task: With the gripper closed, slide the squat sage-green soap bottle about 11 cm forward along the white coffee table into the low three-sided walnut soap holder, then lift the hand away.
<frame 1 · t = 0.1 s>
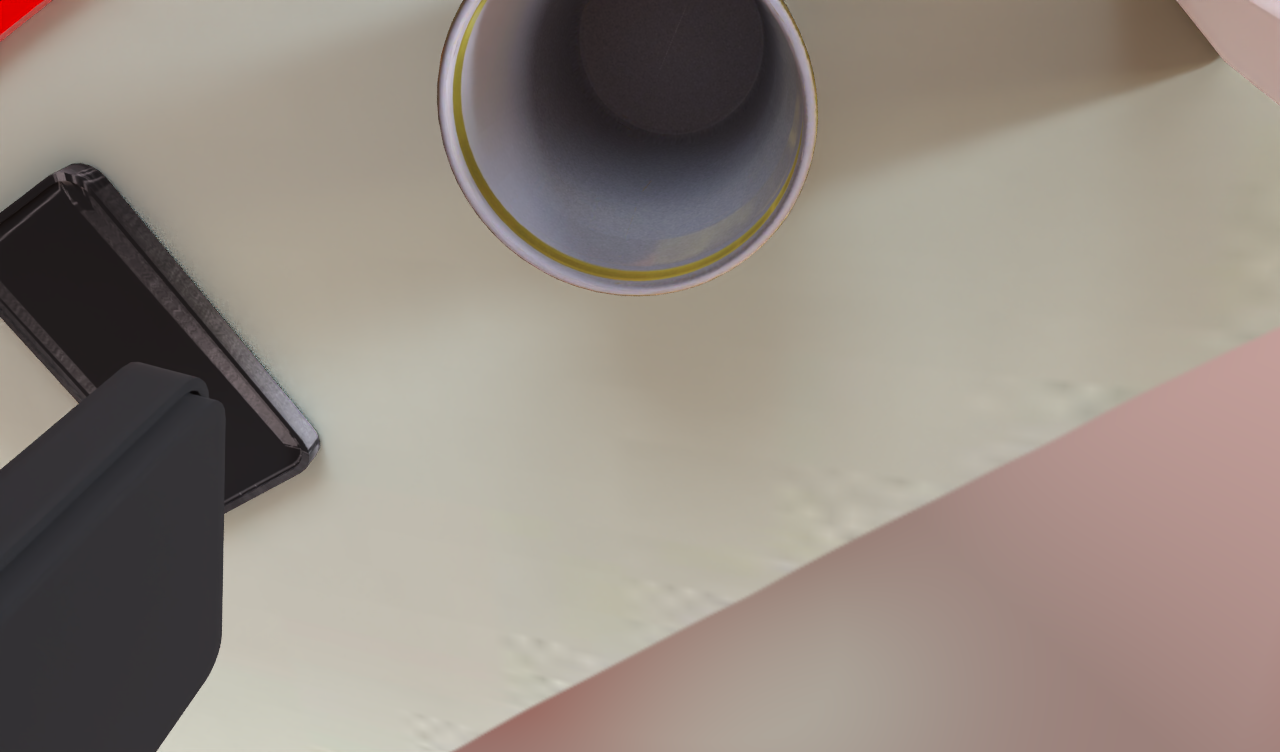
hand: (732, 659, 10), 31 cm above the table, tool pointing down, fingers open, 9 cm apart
phone: (152, 347, 47), on the table
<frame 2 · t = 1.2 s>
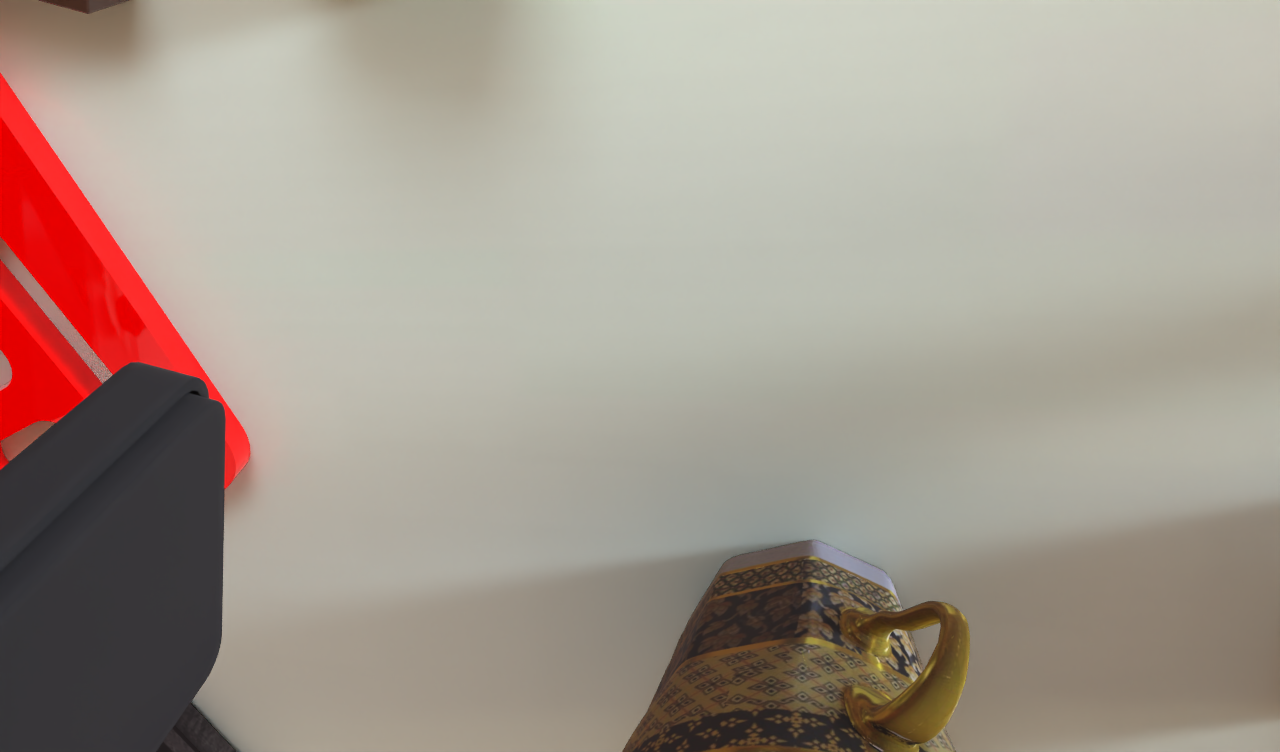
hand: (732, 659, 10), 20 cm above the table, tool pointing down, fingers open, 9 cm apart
ceramic cup: (823, 589, 35), on the table
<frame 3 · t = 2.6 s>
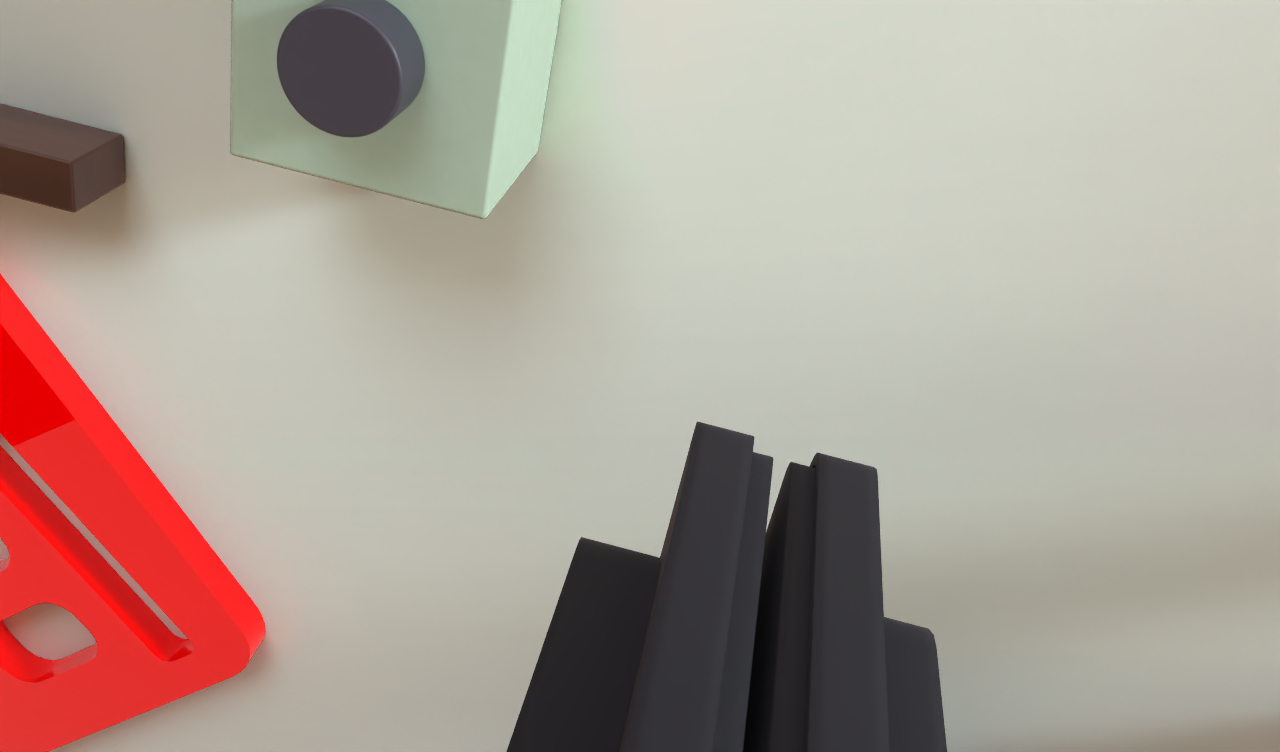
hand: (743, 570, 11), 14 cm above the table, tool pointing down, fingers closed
soap bottle: (439, 8, 23), on the table
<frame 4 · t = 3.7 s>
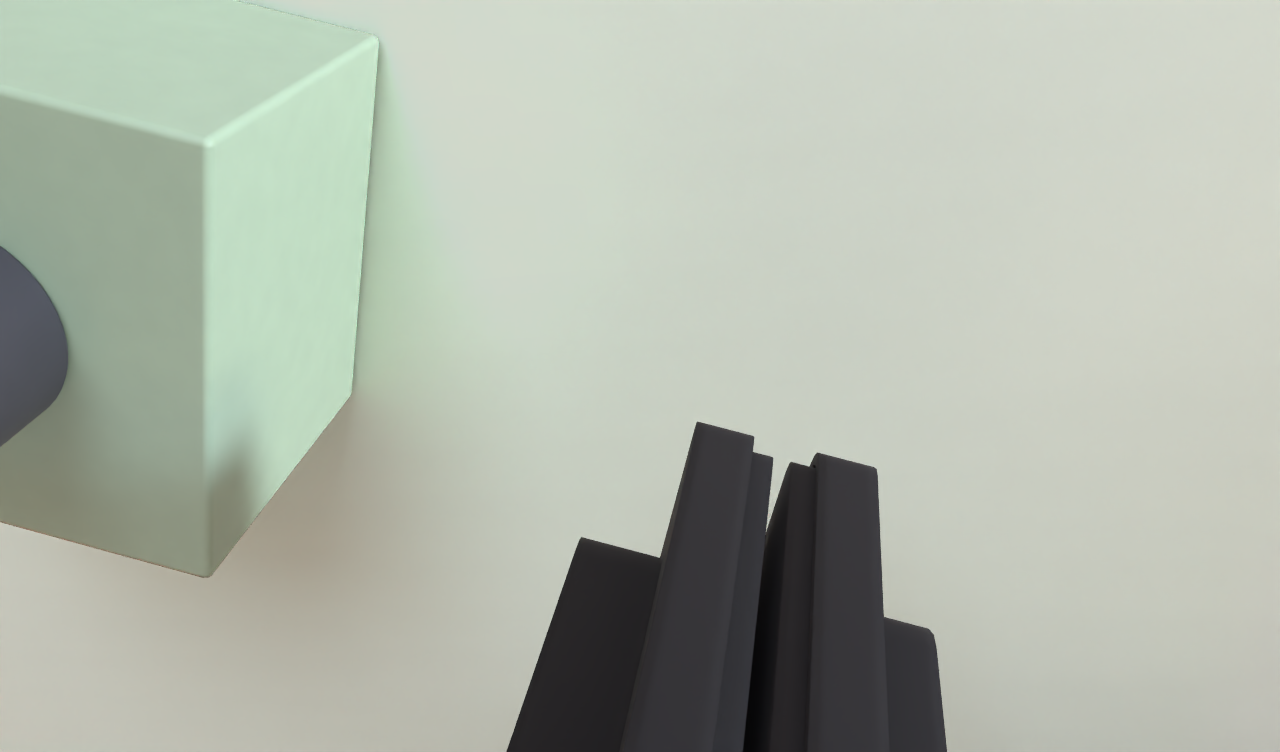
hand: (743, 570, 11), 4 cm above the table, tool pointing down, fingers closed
soap bottle: (178, 183, 14), on the table
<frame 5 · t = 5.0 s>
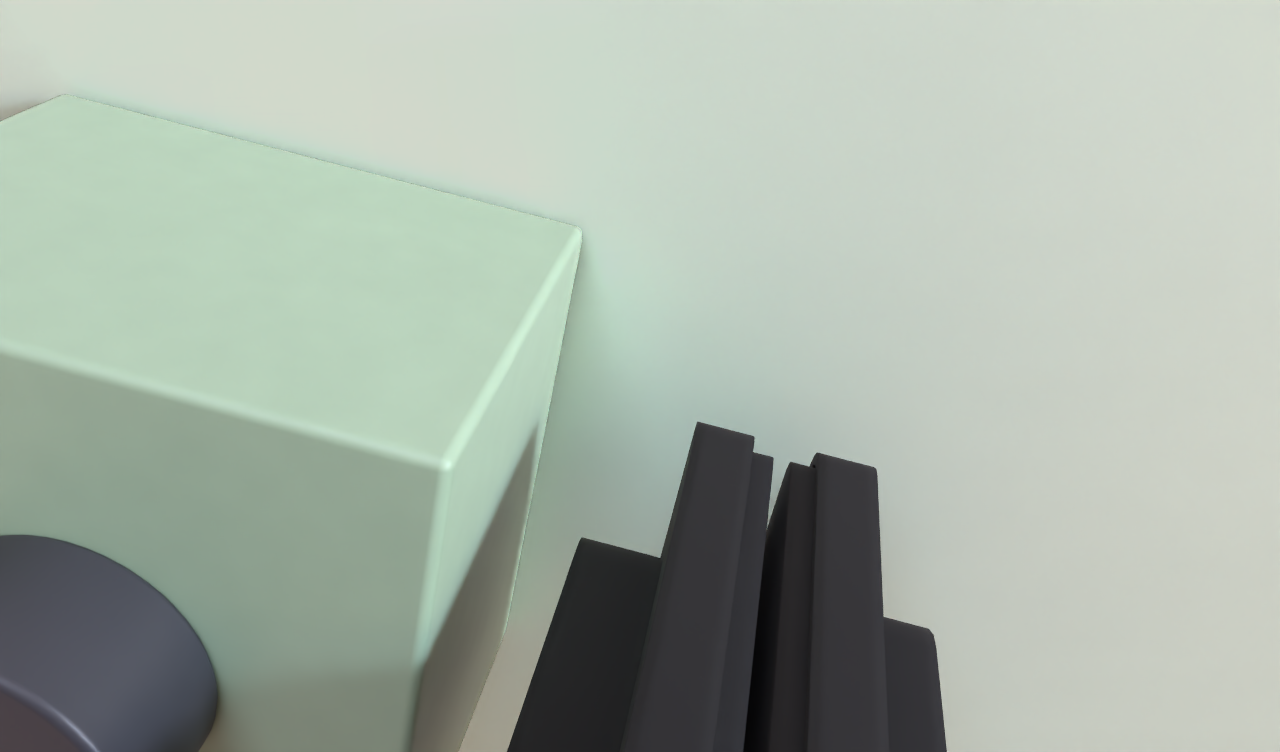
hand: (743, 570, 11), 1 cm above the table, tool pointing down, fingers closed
soap bottle: (306, 386, 12), on the table, touching gripper
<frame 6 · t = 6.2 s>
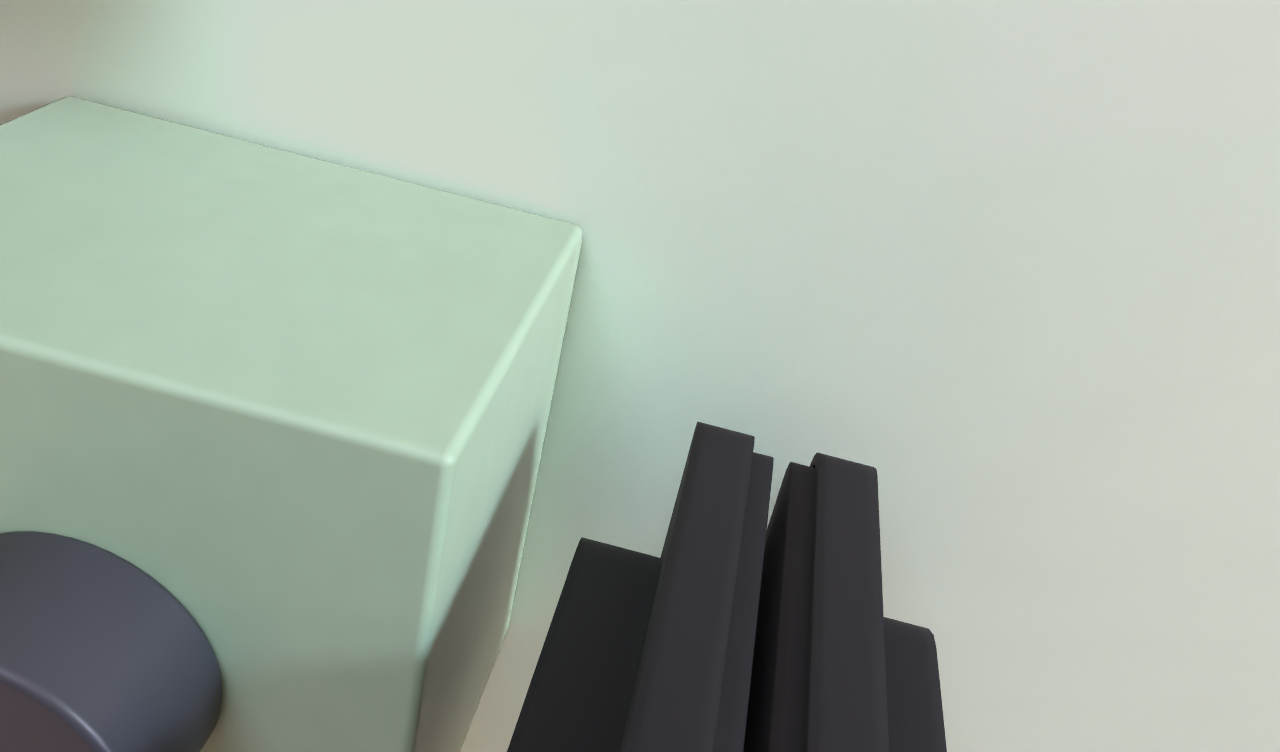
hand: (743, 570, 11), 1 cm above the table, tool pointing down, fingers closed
soap bottle: (309, 385, 12), on the table, touching gripper
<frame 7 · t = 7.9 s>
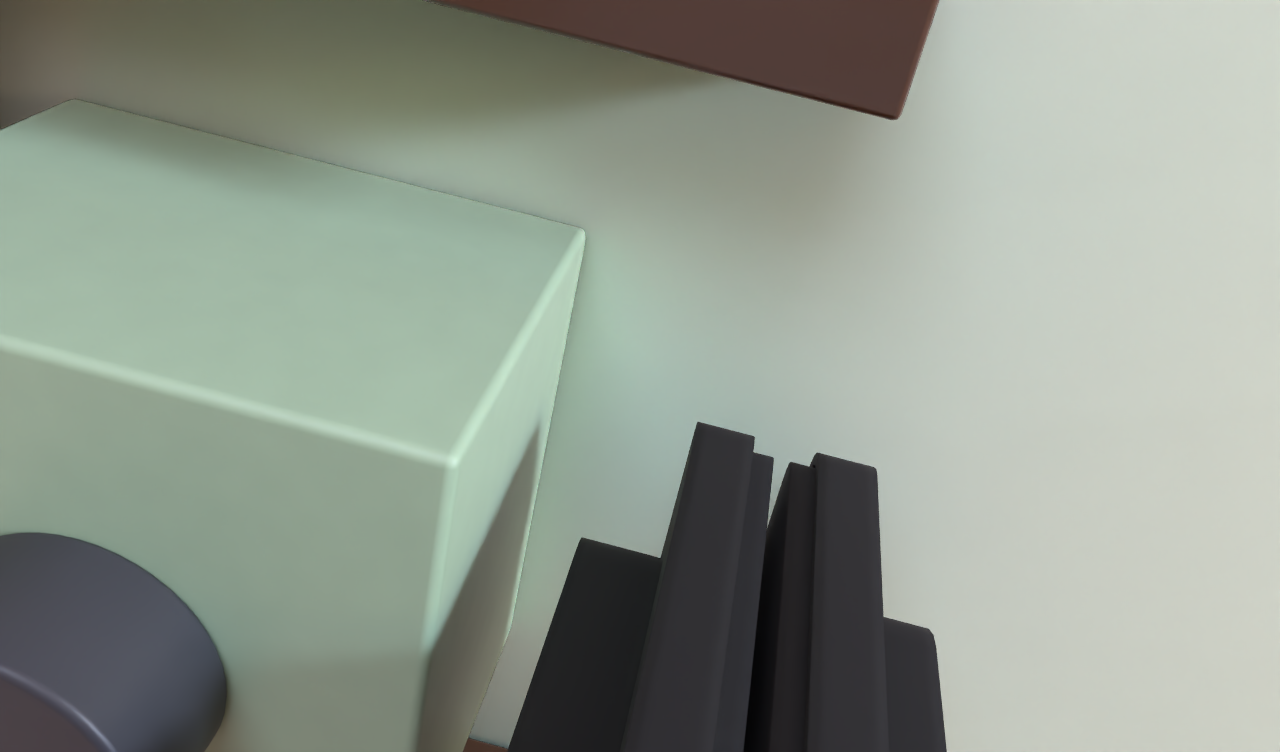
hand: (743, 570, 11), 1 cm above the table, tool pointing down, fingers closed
holder: (370, 391, 12), on the table
soap bottle: (313, 387, 12), on the table, touching gripper
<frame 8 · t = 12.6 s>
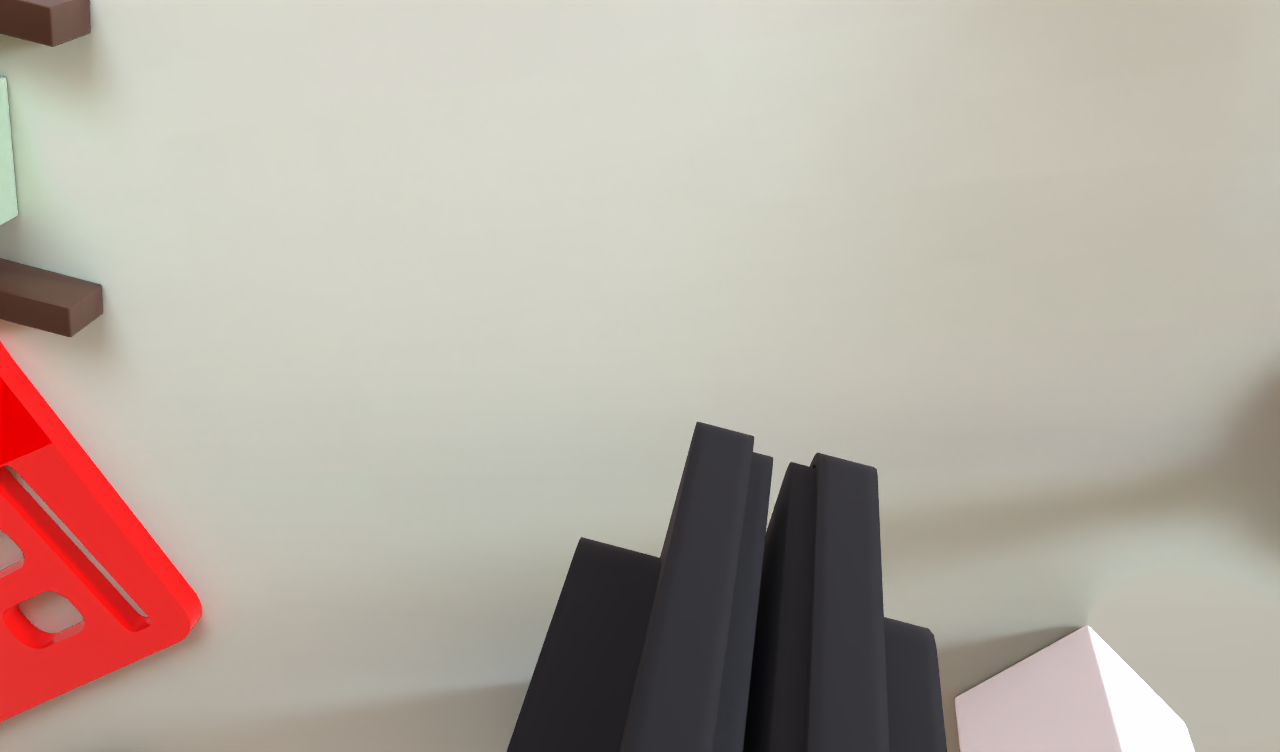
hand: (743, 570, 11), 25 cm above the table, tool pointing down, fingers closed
milk: (1066, 705, 43), on the table
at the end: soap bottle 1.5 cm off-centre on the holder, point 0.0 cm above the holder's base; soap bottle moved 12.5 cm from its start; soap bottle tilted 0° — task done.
